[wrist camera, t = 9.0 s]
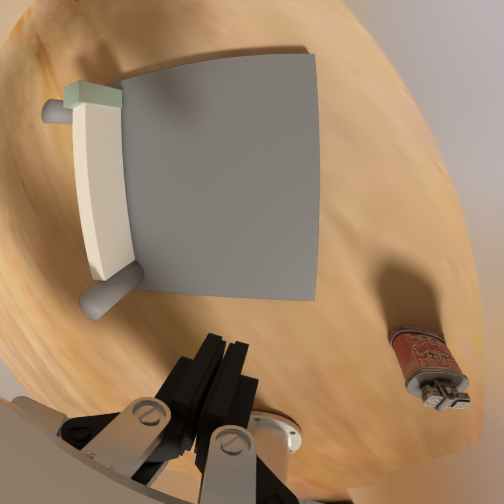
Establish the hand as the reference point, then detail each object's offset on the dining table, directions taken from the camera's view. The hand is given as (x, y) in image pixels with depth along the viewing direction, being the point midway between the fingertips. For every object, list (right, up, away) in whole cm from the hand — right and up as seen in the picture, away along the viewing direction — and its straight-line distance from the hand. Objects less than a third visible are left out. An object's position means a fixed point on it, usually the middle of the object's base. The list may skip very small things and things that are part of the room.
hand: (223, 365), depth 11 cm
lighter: (+20, -5, +15) cm, 25 cm away
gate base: (-4, +11, +13) cm, 17 cm away
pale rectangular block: (-11, +12, +12) cm, 20 cm away
